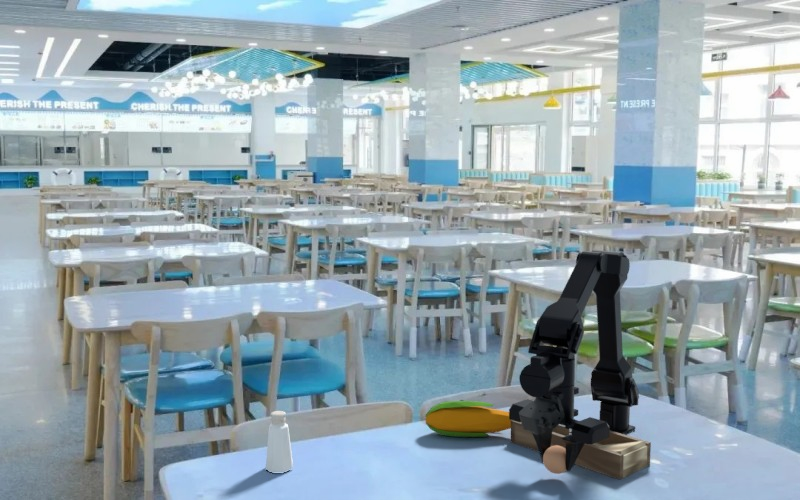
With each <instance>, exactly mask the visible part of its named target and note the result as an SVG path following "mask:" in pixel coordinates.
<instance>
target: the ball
mask: <svg viewBox="0 0 800 500" xmlns="http://www.w3.org/2000/svg"><path fill="white" fill-rule="evenodd" d="M565 460H566V449H565V448H564V447H562V446H558V445H555V446H551V447H549V448H548V449H547V450H546V451H545V453H544V455H543V461H542V463H543V464H544V467H545V469H547V471H549V472H550V473H551V474H557V475H558V474H559V475H560V474H563V473H565V472H567V470H566V463H565Z"/></svg>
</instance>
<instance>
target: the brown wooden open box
mask: <svg viewBox="0 0 800 500" xmlns="http://www.w3.org/2000/svg"><path fill="white" fill-rule="evenodd" d="M568 435H569V429H566V428H563V427H560V426H556V427H555V428H554V429H553V430H552V438H551V446H555V445H558V446H562V447H564V448H565V449H566V444H565V443H564V441H563V440H562V438H563V437H565V436H568ZM510 443H512V444H516V445H519V446H522V447H525V448H527V449H531V450H532V451H536V452H539V450H538V447H537V444H536V441H535V439H534V436H533V434H532V433H531V432H530V431H529V430H524V429H523V428H522V424H521V422H517V421H514V420H511V428H510ZM651 443H652V442H650V441H647V440H644V439H641V438H638V437H635V436H631V435H629V434H628V435H627V434H621V433H618V432H614V431H611V430H610V437H609V438H606V439H604V440H601V441H599V442H596V443H594V444H586V443H585V445H584V446H583V448H582V449H581V451H580V453H579V455H578V457H577V459H576V461H575V463H574V465H576V466H578V467H583V468H586V469H589V470H590V471H594V472H597V473H599V474H603V475H606V476H608V477H611V478H614V479H617V480H621V479H624V478H625V477H628V476H630V475H632V474H634V473H637V472H639V471H641V470H643V469H645V468H648V466H651V449H652V447H651V446H652V445H651ZM551 446H550V447H551Z"/></svg>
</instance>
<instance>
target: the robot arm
mask: <svg viewBox="0 0 800 500" xmlns="http://www.w3.org/2000/svg"><path fill="white" fill-rule="evenodd" d="M629 271H630V259H629V257H628V256H627V255H625V254H624V252H622V251H616V250H615V251H612V250H611V251H610V250H602V249H601V250H600V249H599V250H598V249H592V250H591V251H587V250H585V251H584V250H583V251H582V252H581V251H579V252H578V253H577V255H576V259H575V266H574V267H573V270H572V272H571V273H570V276H569V278H568V280H567V281H566V284H565V286H564V288H563V290H562V292H561V294H560V296H559V298H558V299H557V301H555V302H554V303H551V304H550V305H548V306H546V308H545V309H544V310H543V312H542V313H541V315H540V316H539V318H538V319H537V320H536V324H535V327H534V331H533V334H532V336H531V340H530V343H529V348H528V354H533V356H531V357H530V358H529V359H530V362H529V364H526V365H525V366H524V367H523V369H521V371H520V374H519V383H520V384H519V385H520V387H521V389H522V390H523V392H525V394H527V395H529V396H530V397H532V398H535V399H533V400H532V399H529V398H527V399H523V400H521V401H518V402H515V403H512V404H511V405H510V407H509V410H508V412H509V419H510V420H514V421H517V422H521V424H522V428H523V429H524V430H529V431H530V432H531V433H532V434H533V436H534V439H535V441H536V444H537V447H538V450H539V451H538V453H539V455H540V459H541V461H542V462H543V455H544V453H545V451H546V450H547V449H548V448H549V447H550V446H551V438H552V430H553V429H554V428H555V427H556V426H560V427H563V428H566V429H569V435H568V436H565V437H563V438H562V440H563V441H564V443H565V444H566V460H565V463H566V472H569V471H572V469H573V467H574V465H575V464H574V463H575V461H576V459H577V457H578V455H579V453H580V451H581V449H582V448H583V446H584V445H585V443H586V444H594V443H596V442H599V441H601V440H604V439H606V438H609V437H610V430H611V431H614V432H618V433H621V434H624V435H626V434H627V433H629V432H632V431H634V430H636V426H634V425H631V424H630V411H631V410H630V408H632V407H634V406H638V405H639V399H640V396H639V395H640V391H639V388H638V385H637V383H636V380H635V378H633V370H632V366H631V365H630V363H629V362H628V361H627V359H626V358H625V356H624V354H623V335H622V334H623V333H622V314H621V313H622V311H621V289H622V288H623V287H624V285H625V283H626V281H627V280H628V274H629ZM592 293H594V294H595V300H596V301H595V303H596V317H597V318H596V319H597V335H598V336H597V338H598V352H599V353H598V356H599V360H598V362H597V363H596V365H595V366H594V368H593V369H592V371H591V373H590V375H591V376H590V388H591V389H590V391H591V399H592V401H593V402H594V401H595V402H600V403H599V409H600V410H599V418H598V419H597V418H594V417H591V416H590V417H587V418H584V419H582V420H577V419H575V417H578V416H579V409H577V408H575V395H578V394H579V390H580V388H579V387H576V386H575V379H576V377H575V373H576V372H575V371H576V370H575V369H576V356H575V355H577V354H578V351H579V349H580V346H581V342H582V341H583V337H584V334H585V333H584V332H585V331H584V330H585V329H584V328H585V327H584V324H583V320H582V316H583V313H584V310H585V308H586V307H587V304H588V302H589V299H590V297H591V295H592Z"/></svg>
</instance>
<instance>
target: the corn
mask: <svg viewBox="0 0 800 500" xmlns="http://www.w3.org/2000/svg"><path fill="white" fill-rule="evenodd" d="M494 406H495V404H493V403H488V402H484V401H475V400H473V401H472V400H455V401H454V400H452V401H443V402H440V403H437V404H435V405H434V406H432V407H430V409H429V410H428V411H427V413H425V417H424V420H425V424H426V425H427V427H428V429H430V430H431V431H433V432H435V433H436V434H439V435H442V436H447V437H459V438H460V437H461V438H462V437H464V438H466V437H467V438H482V437H483V438H484V437H489V436H490V435H489V434H491V433H493V434H494V433H500V432H502V431H506V430H509V429H510V430H511V420H510V419H509V411H506V410H501V409H496V408H490V407H494Z"/></svg>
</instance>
